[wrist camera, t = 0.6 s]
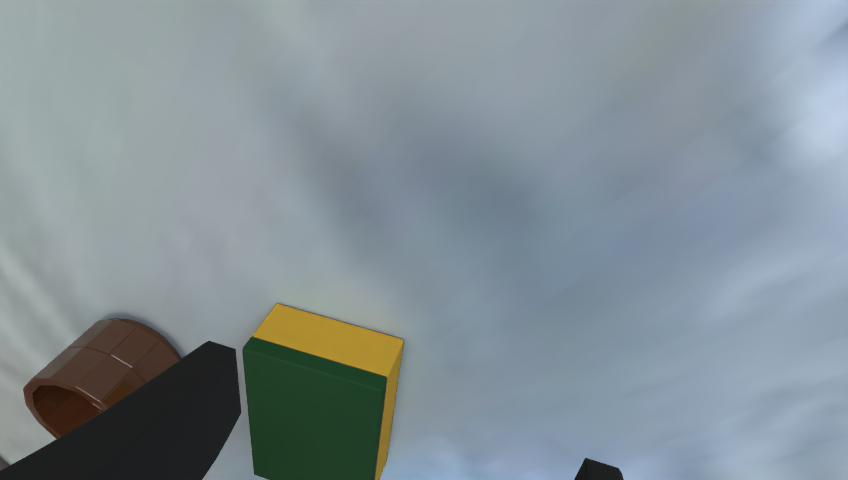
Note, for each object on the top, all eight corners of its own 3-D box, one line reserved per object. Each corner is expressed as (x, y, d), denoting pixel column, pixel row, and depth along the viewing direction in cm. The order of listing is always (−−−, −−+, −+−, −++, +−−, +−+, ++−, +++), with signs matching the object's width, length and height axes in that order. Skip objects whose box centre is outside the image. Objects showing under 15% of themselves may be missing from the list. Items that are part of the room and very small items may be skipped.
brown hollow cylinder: (197, 402, 31) (141, 474, 27) (107, 373, 32) (41, 440, 28) (184, 330, 28) (119, 401, 24) (84, 300, 28) (7, 364, 25)
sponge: (386, 460, 29) (367, 513, 27) (281, 426, 30) (253, 475, 27) (404, 339, 24) (382, 390, 21) (276, 302, 25) (241, 348, 22)
